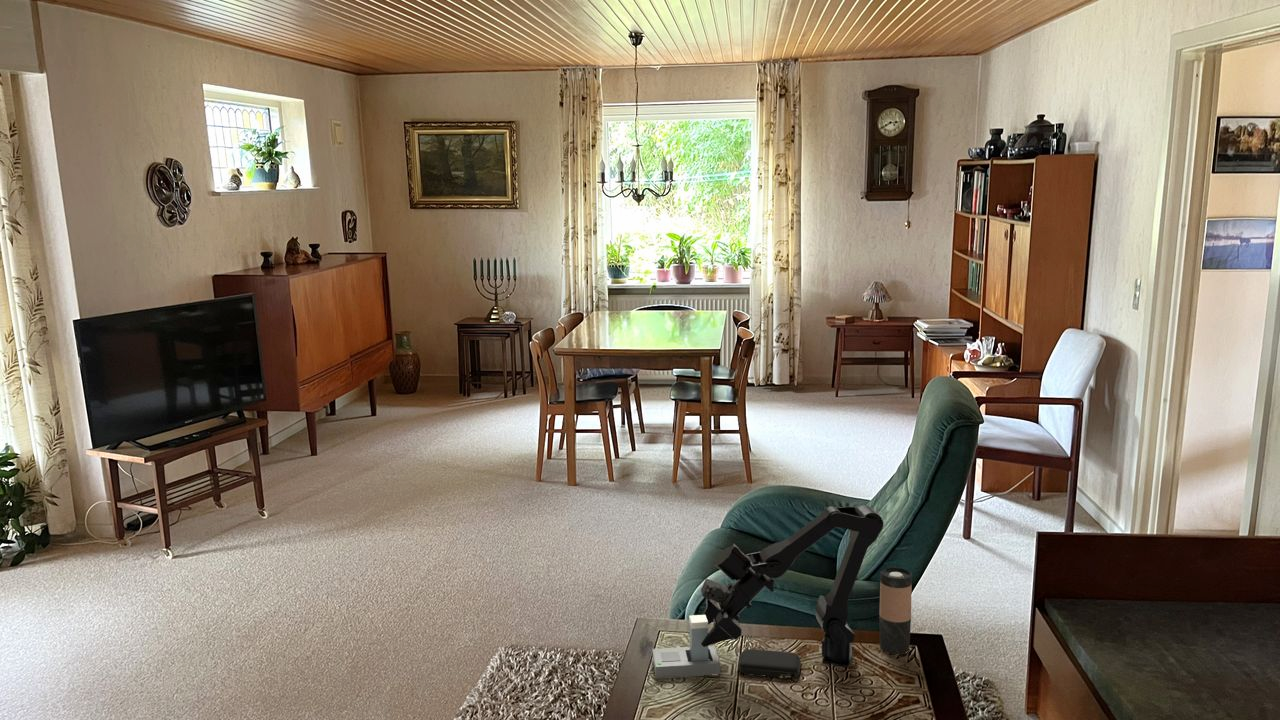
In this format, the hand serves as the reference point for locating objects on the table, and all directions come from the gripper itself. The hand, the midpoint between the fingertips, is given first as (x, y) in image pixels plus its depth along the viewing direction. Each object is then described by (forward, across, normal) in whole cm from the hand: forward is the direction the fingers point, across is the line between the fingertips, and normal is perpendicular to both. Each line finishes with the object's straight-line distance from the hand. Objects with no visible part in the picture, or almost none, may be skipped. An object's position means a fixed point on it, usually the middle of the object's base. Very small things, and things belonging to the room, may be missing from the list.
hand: (699, 636), depth 214 cm
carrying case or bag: (-6, +3, +18) cm, 19 cm away
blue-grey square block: (+6, 0, +5) cm, 8 cm away
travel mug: (-29, -4, +41) cm, 51 cm away
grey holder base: (+8, 0, +3) cm, 9 cm away
